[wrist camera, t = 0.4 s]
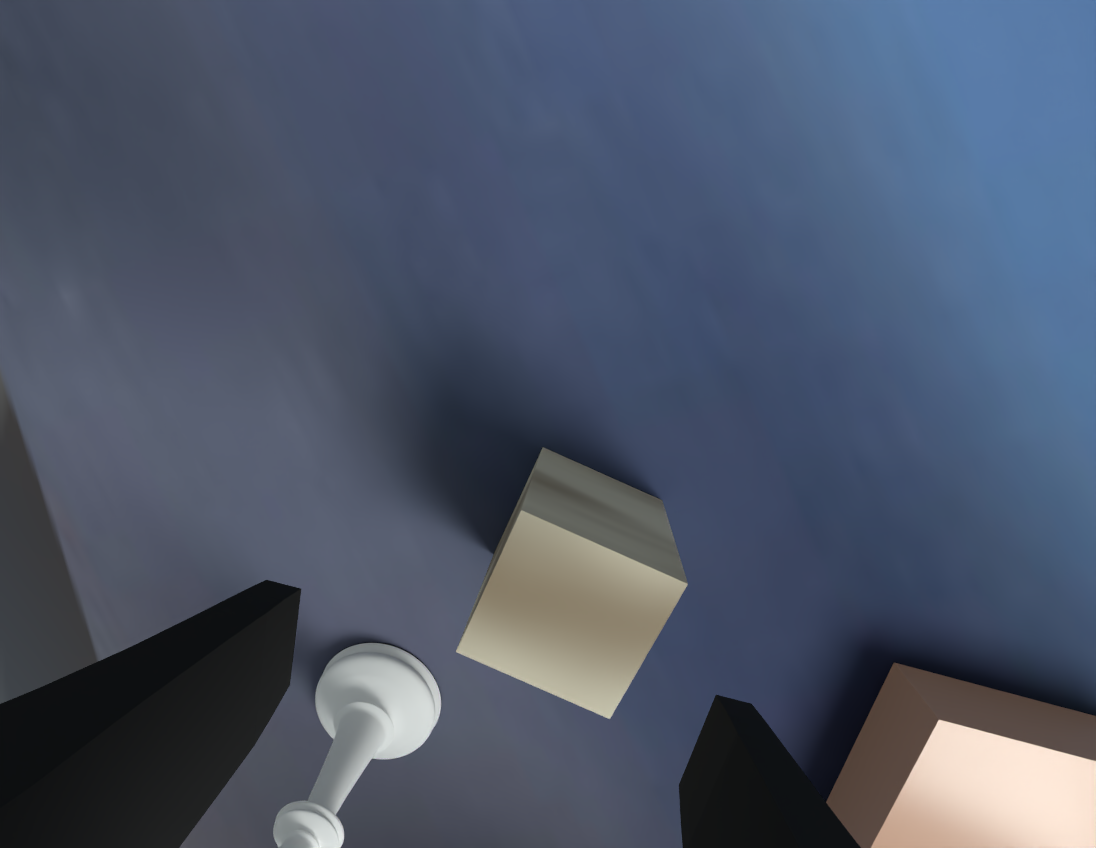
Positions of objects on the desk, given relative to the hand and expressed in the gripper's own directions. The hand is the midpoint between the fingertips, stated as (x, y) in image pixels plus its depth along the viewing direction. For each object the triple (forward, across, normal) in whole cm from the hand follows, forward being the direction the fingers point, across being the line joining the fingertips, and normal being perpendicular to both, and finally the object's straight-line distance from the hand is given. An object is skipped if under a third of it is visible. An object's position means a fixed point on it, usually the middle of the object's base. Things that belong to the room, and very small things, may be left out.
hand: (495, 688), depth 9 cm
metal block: (+10, -2, +2) cm, 10 cm away
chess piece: (+10, +4, +11) cm, 15 cm away
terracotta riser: (+10, -18, +8) cm, 22 cm away
